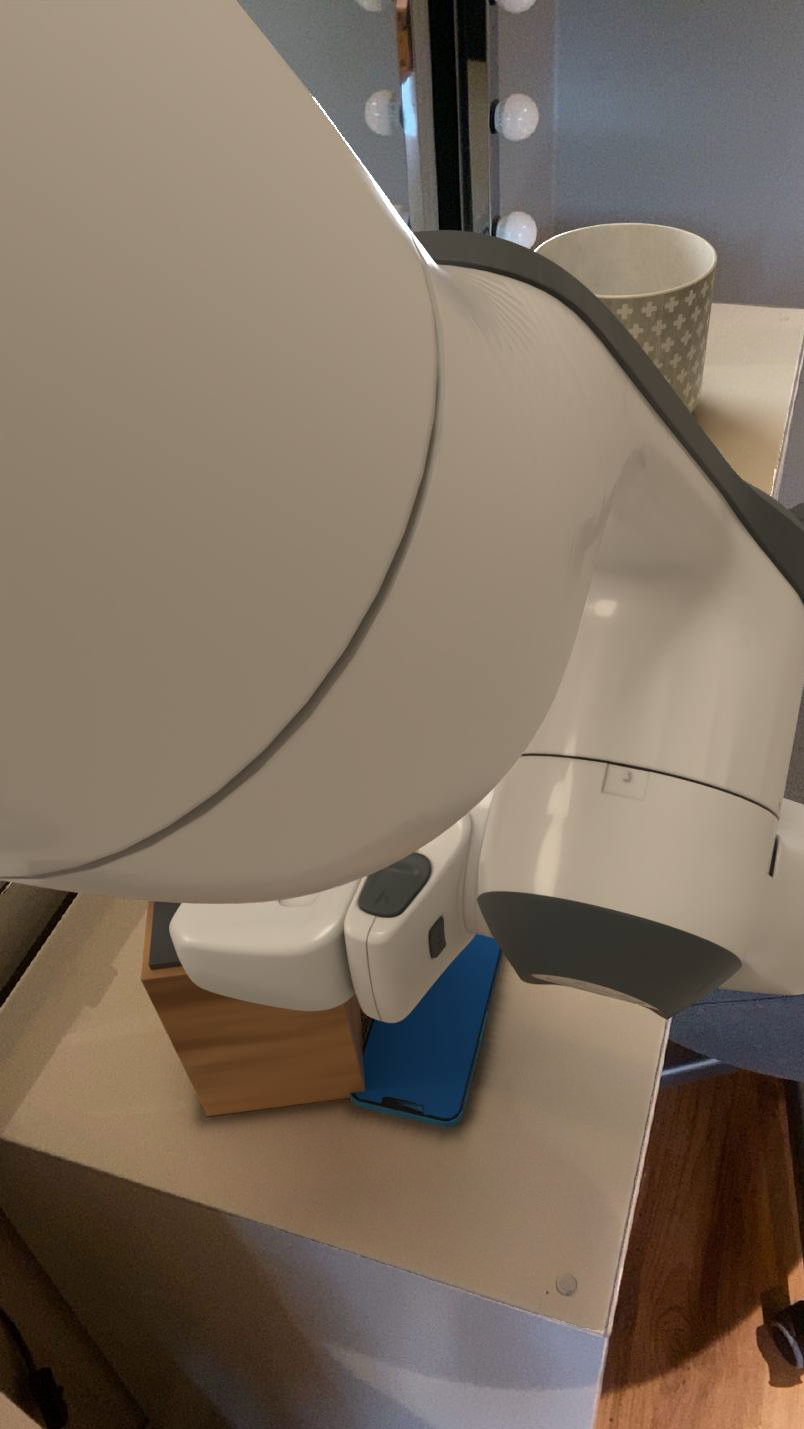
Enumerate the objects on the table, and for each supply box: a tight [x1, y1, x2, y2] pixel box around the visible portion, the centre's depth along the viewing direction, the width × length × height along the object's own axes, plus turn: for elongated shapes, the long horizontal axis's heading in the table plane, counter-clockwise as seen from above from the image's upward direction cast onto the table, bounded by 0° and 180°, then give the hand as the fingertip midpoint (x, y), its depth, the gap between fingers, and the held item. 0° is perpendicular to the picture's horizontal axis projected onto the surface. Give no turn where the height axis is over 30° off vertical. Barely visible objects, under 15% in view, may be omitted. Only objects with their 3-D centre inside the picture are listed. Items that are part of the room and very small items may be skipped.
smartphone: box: [350, 934, 504, 1129], centre depth 69 cm, size 7×1×15 cm
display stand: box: [140, 901, 365, 1117], centre depth 63 cm, size 10×10×16 cm
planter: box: [534, 222, 718, 413], centre depth 114 cm, size 19×19×18 cm
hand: (182, 765), depth 51 cm, fingers open, 7 cm apart
